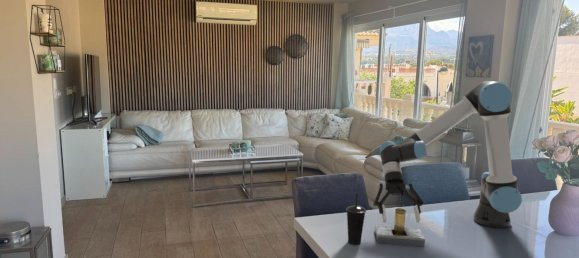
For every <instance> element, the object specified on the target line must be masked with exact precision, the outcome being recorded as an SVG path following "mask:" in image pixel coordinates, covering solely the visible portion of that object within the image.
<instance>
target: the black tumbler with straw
mask: <svg viewBox="0 0 579 258" xmlns="http://www.w3.org/2000/svg"><path fill="white" fill-rule="evenodd" d="M358 196H359V193H358V192H356V193H355V204H354V205H350V206H347V207H346V209H345V211H346V219H347V220H346V221H347V242H348V244H350V245H354V246H358V245H360V244H361V242H362V236H363V229H364V223H365V214H366V213H367V208H365V207H363V206H361V205H358V199H359V198H358Z"/></svg>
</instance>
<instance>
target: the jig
mask: <svg viewBox="0 0 579 258" xmlns="http://www.w3.org/2000/svg"><path fill="white" fill-rule="evenodd" d="M374 233H375V238H376V243H377V244H385V245H386V244H388V245H397V244H398V245H399V246H411V247H426V246H425V243H426V238H425V237H424V235H423V234H422V233H423V232H421V230H420V228H418V227H417V228H414V227H404V236H401V235H394V226H387V225H375V227H374ZM398 245H397V246H398Z"/></svg>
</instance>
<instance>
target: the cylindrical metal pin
mask: <svg viewBox="0 0 579 258" xmlns="http://www.w3.org/2000/svg"><path fill="white" fill-rule="evenodd" d="M406 212H407V210H406V209H404V208H400V207H399V208H395V211H394V224H393V225H394V226H393V227H394V235H401V236H404V228H406V227H405V225H406V224H405V223H406Z"/></svg>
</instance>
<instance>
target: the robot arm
mask: <svg viewBox="0 0 579 258" xmlns="http://www.w3.org/2000/svg"><path fill="white" fill-rule="evenodd" d="M512 100H513V92H512V90H511V89H510V87H509V86H508V85H506V84H505V83H503V82H501V81H497V80H494V81H493V80H486V81H482V82H480V83H478V84H477V85H476V86H475V87H473V88H472V89H471V90H470V91H469V92H467V93H466V94H465V95H463V97H462V100H460V101H459V102H456V104H454V105H453V106H452V107H450V108H448V109H447V110H446V111H444V112H443V113H442V114H440V115H439V116H437V117H436V118H434V119H433V120H432V121H430V122H429V123H428V124H426V125H425V126H423V127H422V128H420V129H419V130H418V131H416V132H415V133H413V134H412V135H410V136H407V137H405V138H404V139H403V141H402V144H396V142H395V141H390V140H387V141H384V142H382V143H381V144H380V146H379V155H380V160H381V165H382V170H383V171H382V172H383V176H384V183H385V184H383V183H382V182H380V183H379V185H378V191H377V194H376V196H375V199H374V201H373V203H372V204H373V206H374V207H376V206H377V208H378V213H379V214H380V215H381V216H382V217H381V218H382V222H383V223H385V224H386V222H387V219H388V218H387V213H386V209H385V208H386V207H385V204H384V203H385V202H386V200H387V199H388V198H389V197H390V196H391V195H392V196H402V197H403V198H405V199H406V200H407V201H408V202H409V203H410V204H411V205H413V212H414V216H415V221H416V224H418V223H420V222H421V215H420V214H422V210H421V207H422V206H423V205H424V204H425V203H424V200H423V199H422V198H421V196H420V195H419V193H418V192H416V190H415V189H414V187H413V184H412V183H409V184H405V182H404V178H403V171H402V167H401V163H403V162H408V161H414V160H421V159H424V158H427V156H428V151H427V147H426V146H428V145H429V144H430V143H432V142H433V141H435V140H436V139H439V137H441V136H442V135H443V134H445V133H446V132H448V131H449V130H451V129H453V128H454V127H455V126H457V125H458V124H460V123H461V122H462V121H465V119H467V118H469V116H472V115H473V114H478V115H479V117H480V118H481V119H482V120H483V124H484V125H483V126H484V134H485V145H486V154H487V165H488V171H484V172H483V173H482V175H481V182H480V195H479V203H478V205H477V208H476V209H475V212H474V214H473V221H474V222H475V223H477V224H479V225H482V226H484V227H490V228H495V229H496V228H497V229H505V228H506V229H507V228H509V227H510V226H511V221H512V220H511V217H510V213H513V212H515V211H516V210H518V209H519V208H520V207H521V205H522V202H523V198H522V194H521V192H520V190H519V185H518V177H517V176H515V175H514V174H513V165H512V155H511V145H510V134H509V125H508V117H509V116H510V115H511V113H512V112H511V111H512V110H511V103H512V102H513V101H512ZM384 189H385V190H386V191H387V192H386V193H385V195H384V196H383V197H382V198H381V199H380V197H381V194H382V192H383V191H384ZM379 199H380V201H379Z"/></svg>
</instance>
